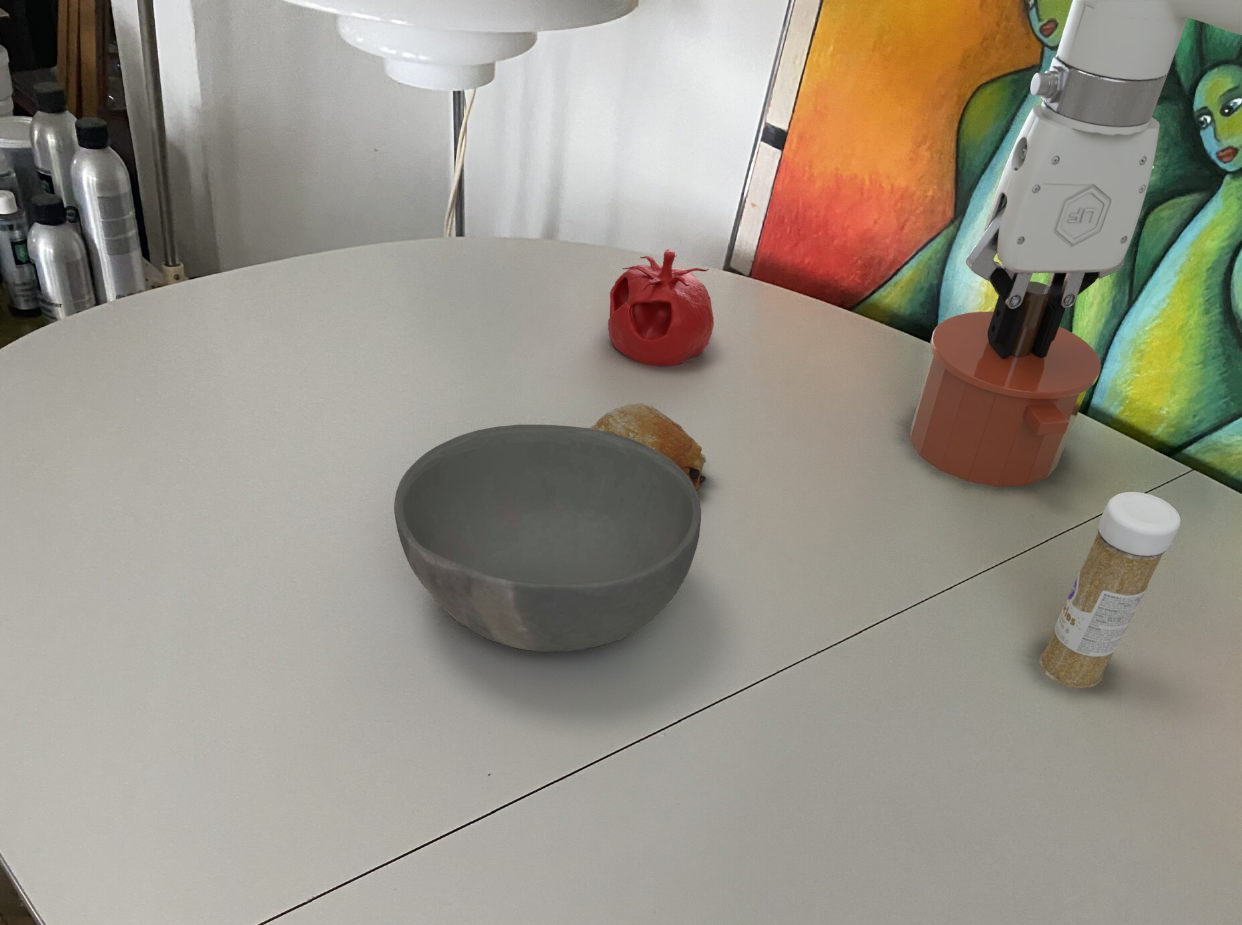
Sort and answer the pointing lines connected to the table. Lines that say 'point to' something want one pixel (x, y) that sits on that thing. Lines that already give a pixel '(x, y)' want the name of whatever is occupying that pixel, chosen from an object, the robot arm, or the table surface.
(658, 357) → the red tomato
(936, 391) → the pot
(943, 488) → the table surface
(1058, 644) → the sprinkles bottle
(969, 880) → the table surface
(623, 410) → the bread roll
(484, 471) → the bowl
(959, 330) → the lid
